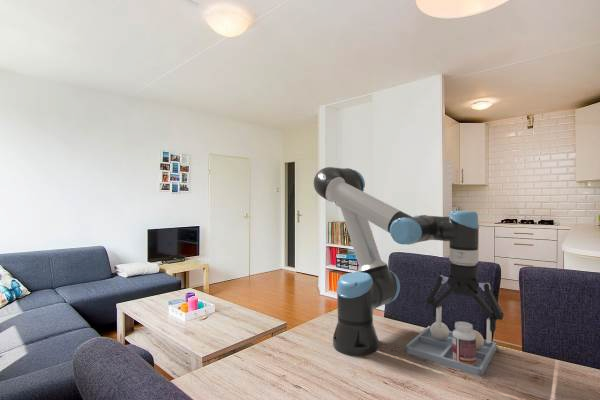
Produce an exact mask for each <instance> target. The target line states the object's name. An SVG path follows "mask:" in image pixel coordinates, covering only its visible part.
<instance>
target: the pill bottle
mask: <svg viewBox="0 0 600 400" xmlns="http://www.w3.org/2000/svg"><path fill="white" fill-rule="evenodd" d="M454 328H455V329H453V331H452V332H453V333H452V338H453V360H455V361H458V362H462V363H465V364H468V365H472V366H474V365H475V364H476V335H475V334H474V333H473V332H472V331H473V330H474V326H473V324H472V323H470V322H467V321H455V323H454Z"/></svg>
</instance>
